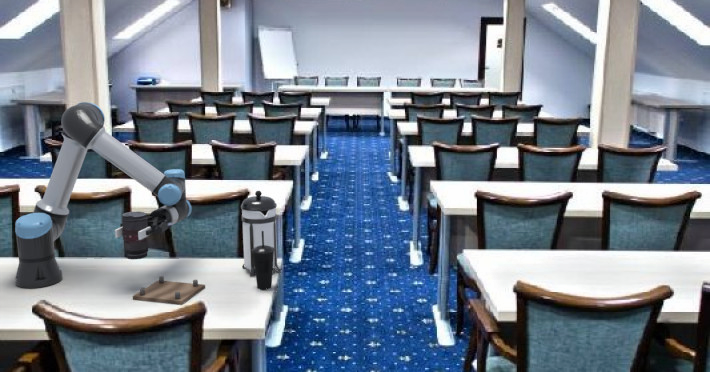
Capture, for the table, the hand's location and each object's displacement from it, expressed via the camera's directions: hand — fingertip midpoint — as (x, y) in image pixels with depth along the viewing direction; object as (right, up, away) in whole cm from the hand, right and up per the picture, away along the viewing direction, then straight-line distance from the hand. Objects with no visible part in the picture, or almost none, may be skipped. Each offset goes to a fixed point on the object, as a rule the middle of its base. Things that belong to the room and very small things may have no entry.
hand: (127, 234), depth 240 cm
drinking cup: (+44, -19, +9) cm, 49 cm away
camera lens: (+1, -8, +6) cm, 10 cm away
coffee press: (+40, -15, +27) cm, 51 cm away
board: (+13, -20, +3) cm, 24 cm away
